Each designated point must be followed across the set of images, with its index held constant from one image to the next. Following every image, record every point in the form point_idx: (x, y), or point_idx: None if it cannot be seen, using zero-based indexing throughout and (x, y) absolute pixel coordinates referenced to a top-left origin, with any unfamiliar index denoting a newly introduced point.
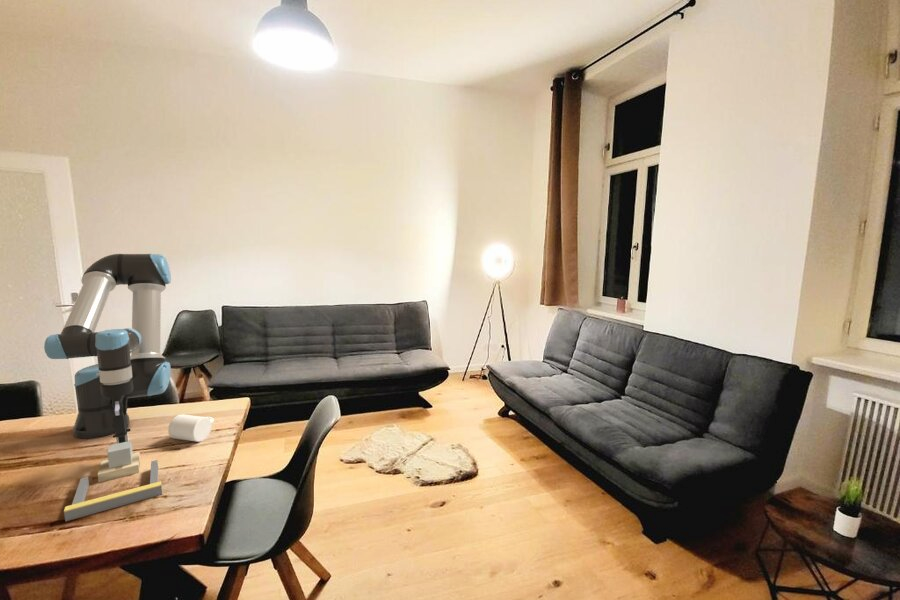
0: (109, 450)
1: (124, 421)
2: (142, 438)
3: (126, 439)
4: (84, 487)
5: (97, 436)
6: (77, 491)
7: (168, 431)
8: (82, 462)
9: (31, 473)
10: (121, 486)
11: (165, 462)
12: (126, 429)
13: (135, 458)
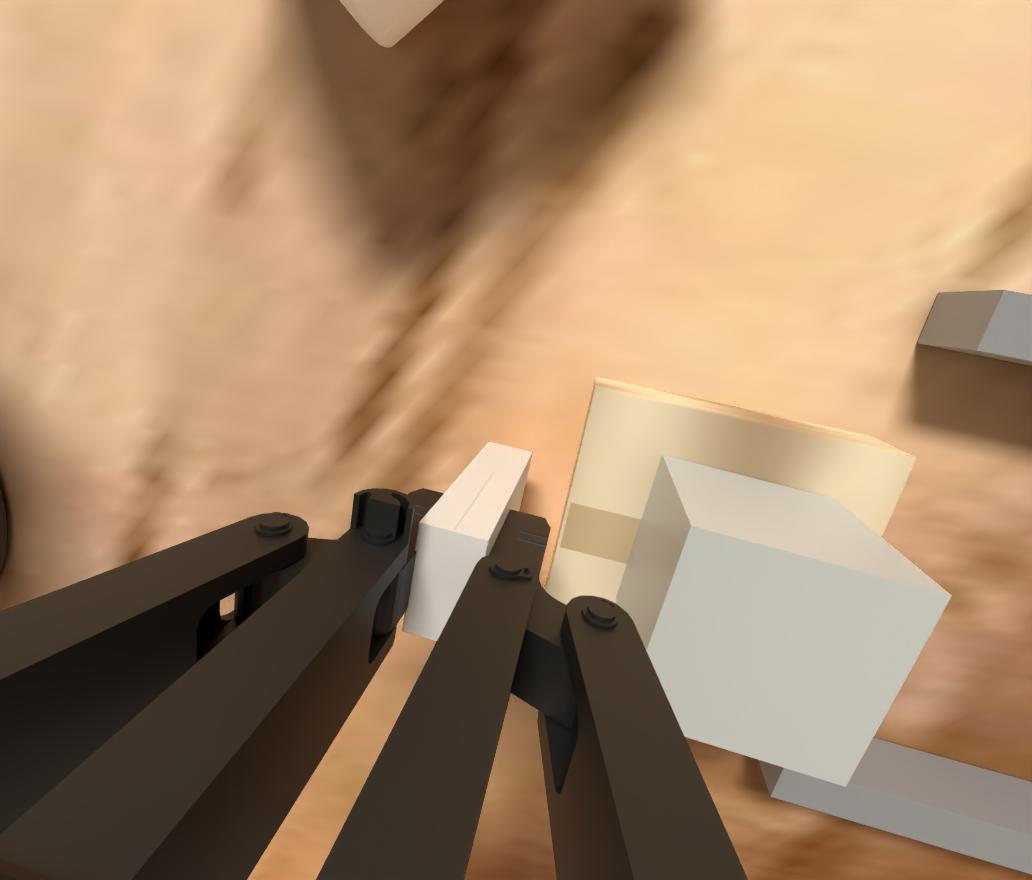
0: (797, 759)
1: (640, 873)
2: (186, 287)
3: (498, 523)
4: (972, 819)
5: (1, 531)
6: (996, 857)
7: (371, 24)
8: None
9: (334, 838)
10: (1009, 579)
11: (877, 213)
12: (399, 558)
13: (734, 448)
